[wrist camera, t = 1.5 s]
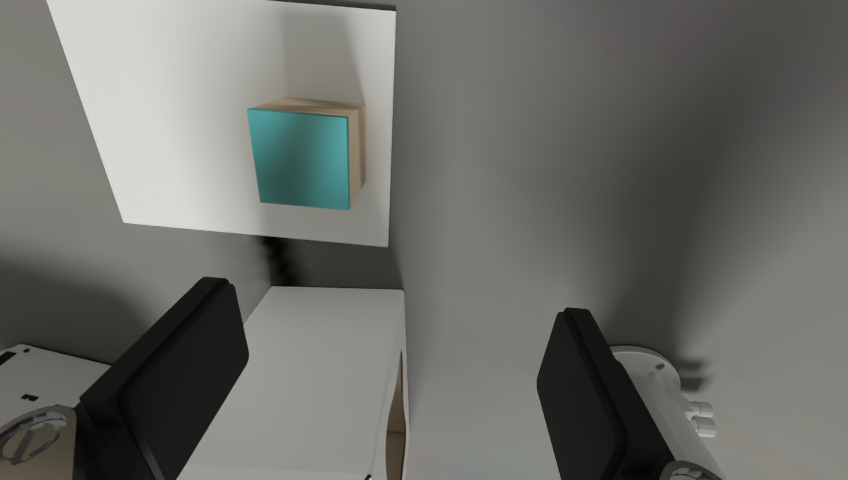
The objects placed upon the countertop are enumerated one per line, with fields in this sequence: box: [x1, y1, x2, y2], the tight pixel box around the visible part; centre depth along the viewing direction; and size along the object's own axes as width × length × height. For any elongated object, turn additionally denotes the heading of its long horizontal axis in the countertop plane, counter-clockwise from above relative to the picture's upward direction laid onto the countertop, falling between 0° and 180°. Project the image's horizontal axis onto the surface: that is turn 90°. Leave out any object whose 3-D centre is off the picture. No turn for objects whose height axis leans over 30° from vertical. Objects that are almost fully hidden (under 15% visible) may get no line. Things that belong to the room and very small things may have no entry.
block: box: [247, 97, 366, 210], centre depth 26 cm, size 6×6×6 cm
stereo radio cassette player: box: [0, 344, 111, 427], centre depth 35 cm, size 21×8×20 cm, turn 73°
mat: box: [47, 0, 396, 247], centre depth 29 cm, size 24×18×1 cm
